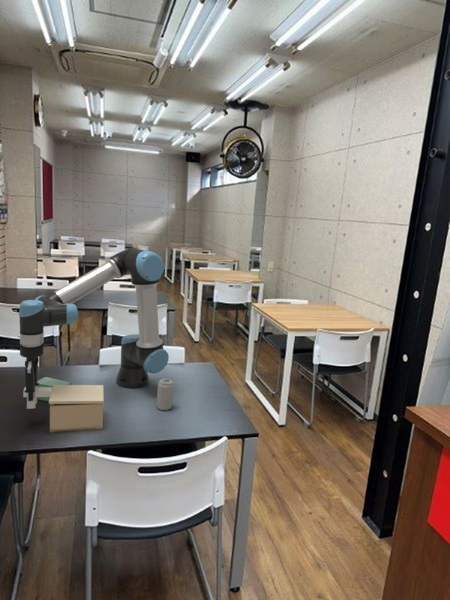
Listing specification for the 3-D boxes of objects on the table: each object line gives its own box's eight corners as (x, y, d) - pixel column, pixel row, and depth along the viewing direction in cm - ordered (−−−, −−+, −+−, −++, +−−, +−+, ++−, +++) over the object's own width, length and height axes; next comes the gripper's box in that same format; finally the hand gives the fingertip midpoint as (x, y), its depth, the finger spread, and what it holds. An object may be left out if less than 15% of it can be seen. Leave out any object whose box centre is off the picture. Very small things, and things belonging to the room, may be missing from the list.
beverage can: (174, 406, 171) (176, 380, 169) (167, 412, 165) (169, 385, 163) (161, 403, 173) (162, 376, 171) (153, 409, 167) (155, 382, 165)
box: (61, 405, 164) (62, 388, 162) (33, 399, 166) (33, 382, 165) (72, 398, 171) (72, 381, 169) (45, 392, 174) (45, 376, 172)
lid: (103, 387, 160) (103, 381, 159) (103, 403, 146) (103, 397, 146) (27, 387, 151) (27, 380, 150) (20, 404, 138) (20, 397, 137)
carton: (102, 411, 162) (103, 388, 160) (102, 429, 148) (103, 404, 146) (53, 413, 156) (54, 389, 154) (49, 432, 143) (49, 406, 141)
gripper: (24, 337, 148) (24, 396, 152) (15, 351, 133) (16, 417, 137) (46, 337, 150) (46, 395, 155) (40, 351, 135) (40, 415, 140)
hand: (32, 405), depth 146 cm, fingers closed on lid, 3 cm apart
